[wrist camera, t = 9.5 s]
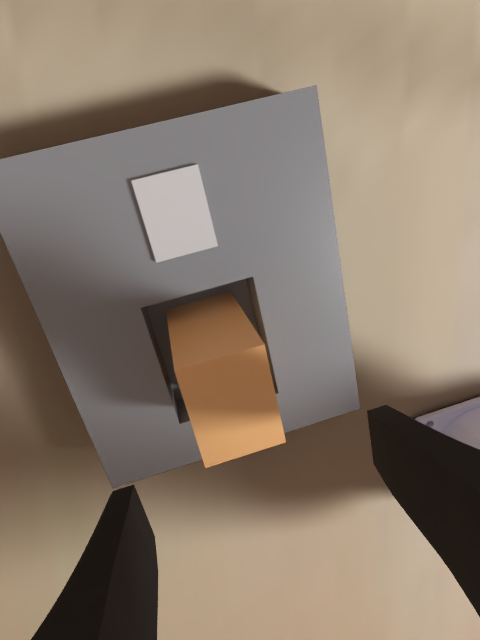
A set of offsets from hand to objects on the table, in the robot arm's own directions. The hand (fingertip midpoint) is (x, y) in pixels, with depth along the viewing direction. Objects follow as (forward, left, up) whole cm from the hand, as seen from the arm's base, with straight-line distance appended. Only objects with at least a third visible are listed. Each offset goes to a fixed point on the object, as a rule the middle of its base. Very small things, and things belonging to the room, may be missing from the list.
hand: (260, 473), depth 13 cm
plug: (0, -1, -8) cm, 8 cm away
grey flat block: (0, -3, -9) cm, 10 cm away
